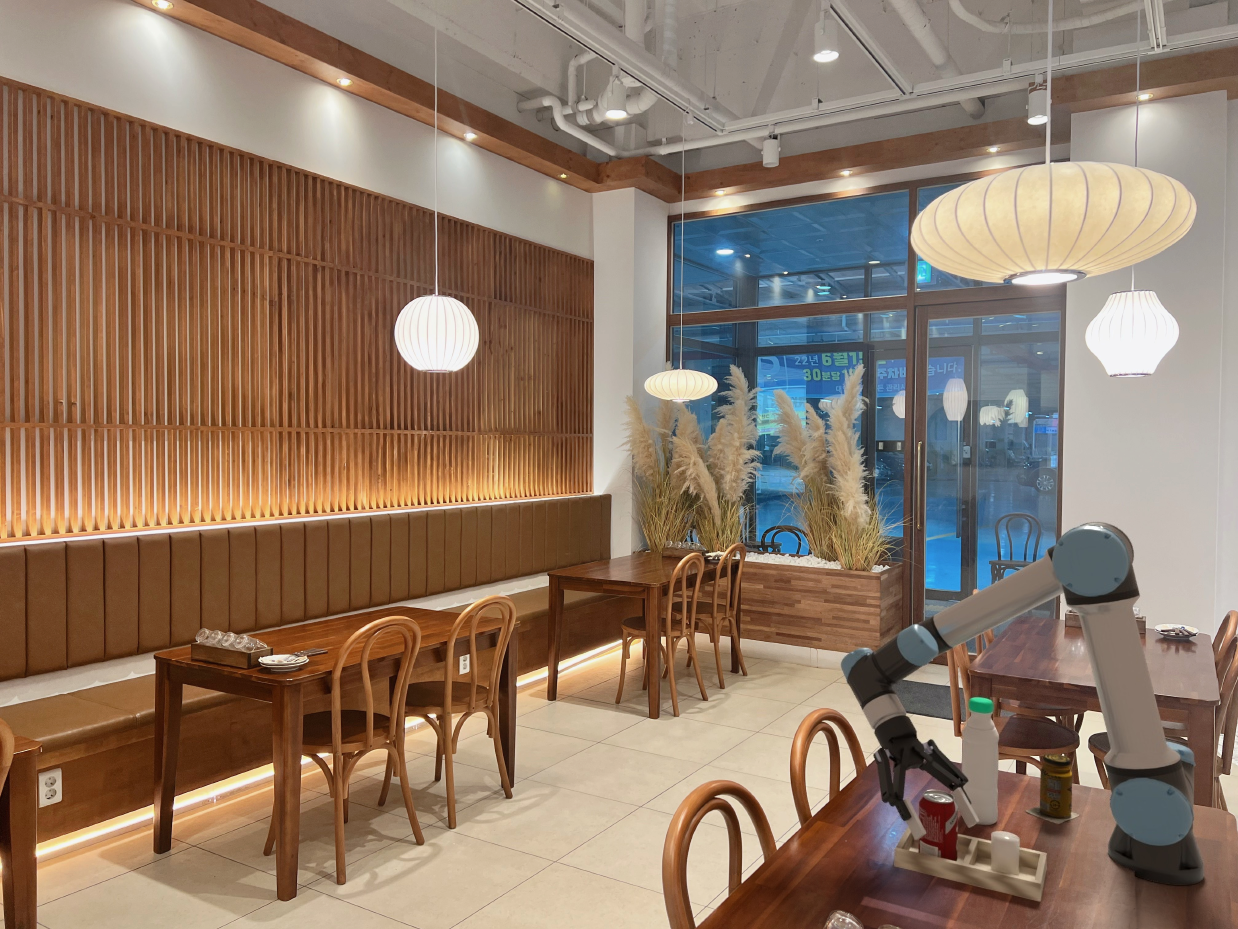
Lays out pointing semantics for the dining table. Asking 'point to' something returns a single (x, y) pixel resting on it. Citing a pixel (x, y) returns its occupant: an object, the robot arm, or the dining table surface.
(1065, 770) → the condiment
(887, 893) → the dining table surface
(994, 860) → the salt shaker
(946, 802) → the soda can
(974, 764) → the water bottle
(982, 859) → the drink caddy
